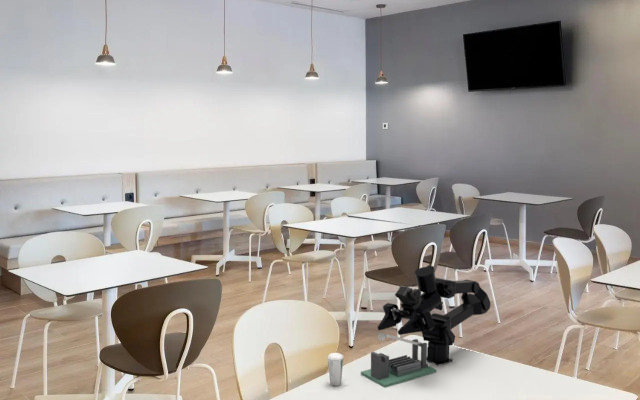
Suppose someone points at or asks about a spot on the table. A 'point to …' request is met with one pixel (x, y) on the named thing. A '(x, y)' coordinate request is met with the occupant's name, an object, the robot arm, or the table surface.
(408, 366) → the heatsink
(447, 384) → the table surface
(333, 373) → the milkshake
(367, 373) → the board
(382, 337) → the metal bar
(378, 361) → the lug block
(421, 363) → the bracket
